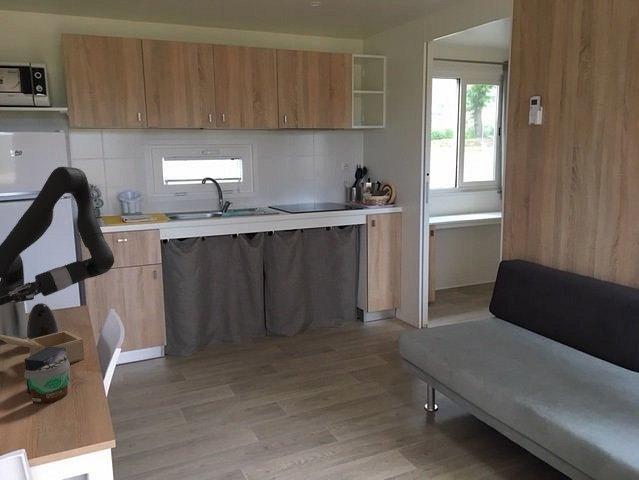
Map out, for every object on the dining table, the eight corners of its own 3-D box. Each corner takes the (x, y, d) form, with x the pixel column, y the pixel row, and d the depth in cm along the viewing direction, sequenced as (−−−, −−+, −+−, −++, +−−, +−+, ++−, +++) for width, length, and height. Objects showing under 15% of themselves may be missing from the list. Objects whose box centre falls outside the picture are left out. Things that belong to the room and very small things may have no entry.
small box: (46, 395, 152) (42, 360, 150) (26, 393, 153) (22, 359, 151) (70, 379, 162) (66, 346, 160) (51, 378, 163) (48, 345, 161)
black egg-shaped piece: (33, 351, 187) (28, 309, 184) (25, 343, 194) (20, 303, 192) (63, 343, 193) (59, 303, 191) (54, 336, 201) (50, 298, 198)
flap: (26, 341, 175) (-4, 336, 169) (26, 339, 176) (-4, 334, 169) (38, 349, 168) (7, 343, 161) (39, 347, 168) (8, 341, 161)
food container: (40, 410, 142) (36, 375, 141) (27, 405, 146) (23, 370, 144) (81, 392, 153) (78, 359, 151) (69, 387, 156) (65, 355, 154)
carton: (30, 359, 179) (27, 339, 178) (68, 348, 188) (66, 329, 187) (47, 370, 169) (44, 350, 167) (86, 359, 178) (84, 339, 176)
